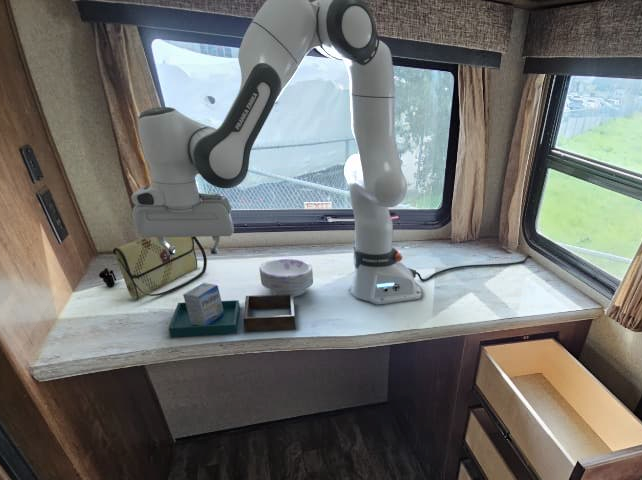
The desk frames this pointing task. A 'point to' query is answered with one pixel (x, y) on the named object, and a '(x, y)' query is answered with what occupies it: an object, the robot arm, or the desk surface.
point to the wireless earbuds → (108, 277)
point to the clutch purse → (156, 263)
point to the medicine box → (204, 304)
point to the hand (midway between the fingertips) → (193, 254)
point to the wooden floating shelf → (269, 321)
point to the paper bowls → (286, 276)
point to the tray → (222, 325)
